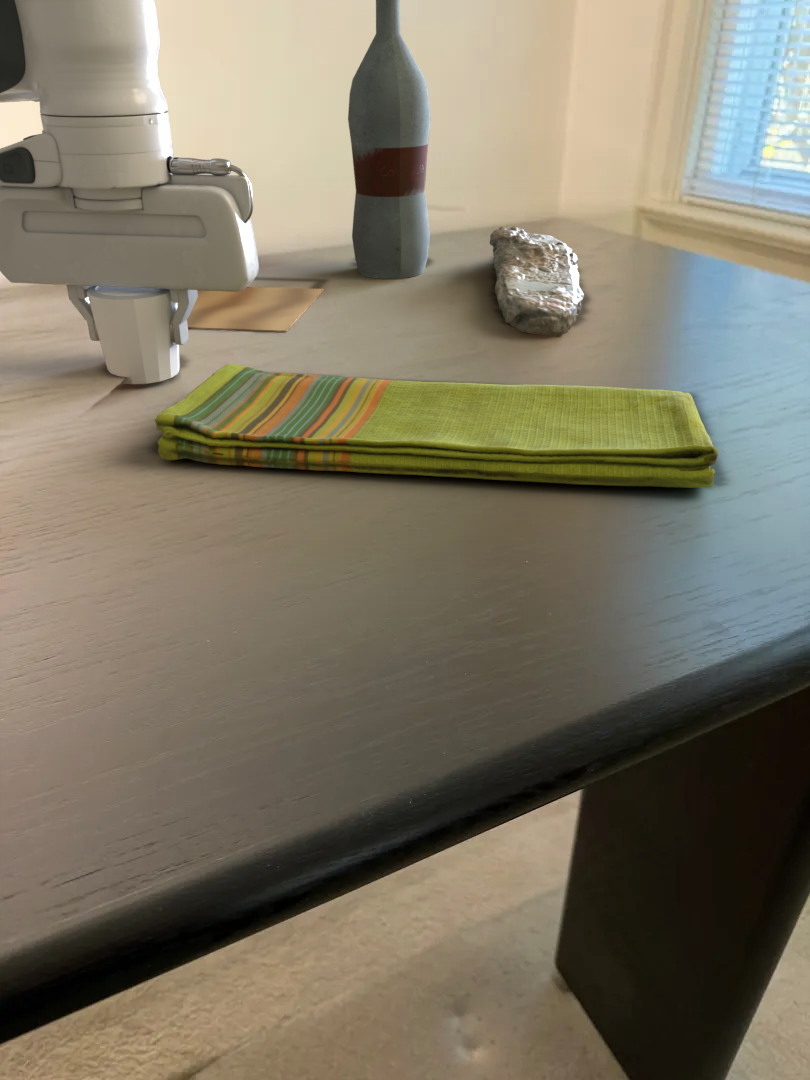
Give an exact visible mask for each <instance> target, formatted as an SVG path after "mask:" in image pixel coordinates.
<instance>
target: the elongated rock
mask: <svg viewBox="0 0 810 1080" xmlns="http://www.w3.org/2000/svg"><path fill="white" fill-rule="evenodd" d="M489 245H490V246H491V247H492V255H493V256H492V257H493V258H492V261H493V267H494V269H495V275H496V283H495V286H494V293H495V294H496V299H497V303H498V307H499V311H501V312H502V316H503V318H504V322H505V323H508V324H510V325H511V327H513V328H515V329H516V330H517V331H519V332H523V333H528V334H533V335H539V336H541V335H543V336H559V337H560V336H562V335H563V334H567V333H568V331H570V330H571V327H572V326H573V325H574V324H575V323H576V321H577V319H578V318H579V316H578V315H579V314H580V312H581V311H582V307H583V305H582V301H583V299H584V298H585V294H584V292H583V290H582V289H581V287H580V274H579V266H578V263H579V259H578V256H577V254H576V253H575V252H572V251H573V248H570V247H569V246H567V244H566V242H563V241H561V240H559V239H557V238H555V237H554V236H551V235H550V234H545V233H536V232H535V233H534V232H526V231H525V230H524V229H523V228H519V227H517V226H511V227H510V228H508V229H507V228H505V227H504V226H499V228H498V229H495V230H492V232H491V233H490V235H489Z"/></svg>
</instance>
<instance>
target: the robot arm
mask: <svg viewBox="0 0 810 1080" xmlns="http://www.w3.org/2000/svg"><path fill="white" fill-rule="evenodd" d="M157 11H158V10H157V5H156V0H0V104H1V103H19V102H20V103H21V102H35V103H37V102H39V113H40V120H41V126H42V130H41V133H38V134H32V135H29V136H27V137H24V138H23V139H22V140H20V141H17V142H15V143H12V144H9V145H7V146H4V147H0V273H1V274H2V275H3V276H4V277H5V278H6V280H8V282H10V283H11V284H29V285H31V284H32V285H55V286H57V285H58V286H66V290H67V295H68V299H69V301H70V302H71V304H72V305H73V306H74V308H75V309H76V310H77V311H78V312H79V314H80V315H81V317H82V318H83V319H84V320H85V321H86V323H87V328H88V333H89V338H90V340H91V341H92V342H93V341H95V342H100V339H99V336H98V332H97V328H96V325H95V321H94V317H93V314H92V310H91V306H90V303H89V299H88V295H87V290H88V289H89V288H90V287H92V286H104V287H129V288H154V289H170V294H171V301H172V302H173V303H178V302H179V305H178V307H177V310H176V312H175V315H174V317H173V320H172V322H171V323H170V324H169V327H170V342H171V344H173V345H179V346H183V345H185V344H186V343H188V341H189V337H190V336H189V329H188V325H187V319H188V317H189V315H190V313H191V311H192V309H193V306H194V304H195V302H196V300H197V298H198V293H197V290H204V291H229V292H239V291H241V290H243V289H245V288H246V287H249V286H250V284H252V282H253V281H255V279H256V278H257V276H258V274H259V271H260V265H259V256H258V250H257V243H256V238H255V232H254V229H253V225H252V220H251V217H252V215H253V211H254V200H253V186H252V183H251V180H250V178H249V177H248V175H247V174H246V172H244V170H242V169H241V168H240V167H239V166H236V165H233V164H232V163H231V161H230V160H229V159H225V158H220V157H219V158H217V157H215V158H211V159H201V158H194V157H176V156H174V148H173V137H172V129H171V122H170V113H169V105H168V101H167V99H166V96H165V94H164V91H163V88H162V85H161V82H160V77H159V76H160V75H159V57H160V56H159V55H160V49H161V38H160V37H161V36H160V29H159V28H160V27H159V18H158V12H157ZM232 172H233V173H235V174H231V173H232Z"/></svg>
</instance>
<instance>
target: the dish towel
mask: <svg viewBox="0 0 810 1080" xmlns="http://www.w3.org/2000/svg"><path fill="white" fill-rule="evenodd" d="M698 410H699V409H698V408H697V406H696V402H695V401H694V396H692V394H691V393H690V392H683V391H680V390H673V389H672V390H669V389H648V388H647V389H646V388H627V387H614V386H613V387H612V386H589V385H588V386H587V385H564V384H563V385H562V384H498V383H497V384H496V383H479V382H478V383H475V382H443V381H442V382H440V381H432V382H431V381H413V380H393V379H379V378H378V379H377V378H364V377H345V376H333V375H332V376H331V375H322V374H321V375H319V374H308V373H307V374H305V373H293V372H292V373H291V372H288V373H287V372H274V371H266V370H260V369H256V368H253V367H250V366H247V365H242V364H236V363H227V364H224V365H223V366H222V367H220V368H219V369H217V370H216V371H215V372H213V373H212V374H211V375H210V376H209V377H207V378H206V379H205V380H204V381H203V382H201V383H200V384H199V385H198V386H196V387H195V389H194V390H192V391H191V392H190V393H188V394H187V395H186V396H185V397H184V399H181V400H180V401H177V402H176V403H175V404H172V405H171V406H167V408H165V409H163V410H162V411H161V412H160V413H158V414H157V415H156V416H155V419H154V422H155V426H156V429H157V431H161V432H162V433H161V436H160V438H159V439H157V445H158V449H157V451H158V452H157V453H158V454H159V457H160V458H161V459H162V460H165V461H177V460H183V459H188V460H192V461H195V462H201V463H206V464H214V465H222V466H224V465H225V466H246V467H254V468H272V469H273V468H274V469H288V470H289V469H290V470H304V471H327V472H329V471H330V472H349V473H351V472H352V473H366V474H367V473H368V474H385V475H405V476H407V475H409V476H410V475H411V476H426V477H427V476H428V477H429V476H430V477H441V478H443V477H445V478H465V479H477V480H478V479H479V480H492V481H493V480H495V481H512V482H515V481H516V482H529V483H532V482H533V483H547V484H548V483H549V484H567V485H585V486H587V485H588V486H614V487H615V486H617V487H656V488H658V487H659V488H690V489H691V488H696V489H697V488H712V487H713V486H714V480H715V473H716V471H715V468H714V469H713V468H711V466H714V465H715V464H716V463H717V458H718V455H719V452H718V449H717V448H716V447H714V444H713V441H712V439H711V437H710V435H709V434H708V432H707V430H706V427H705V425H704V424H703V421H702V419H701V416H700V414H699V411H698Z"/></svg>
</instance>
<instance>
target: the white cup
mask: <svg viewBox="0 0 810 1080" xmlns="http://www.w3.org/2000/svg"><path fill="white" fill-rule="evenodd" d="M87 295H88V299H89V303H90V306H91V310H92V314H93V317H94V321H95V325H96V328H97V332H98V336H99V339H100V341H99V343H100V346H101V350H102V354H103V358H104V361H105V365H106V369H107V371H108V372H109V373H110V374H112V375H114V376H117V377H123V378H125V379H123V380H122V381H121V382H120V383H121V384H127V385H129V384H130V385H147V384H153V383H159V382H164V381H166V380H169V379H172V378H173V377H175V376H177V375H178V374H179V373H180V369H181V368H180V367H181V366H180V345H173V344H171V342H170V327H169V324H170V323H171V322H172V320H173V317H174V315H175V312H176V310H177V307H178V305H177V303H173V302H172V301H171V294H170V289H154V288H129V287H104V286H92V287H90V288H89V289H88V290H87Z"/></svg>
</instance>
